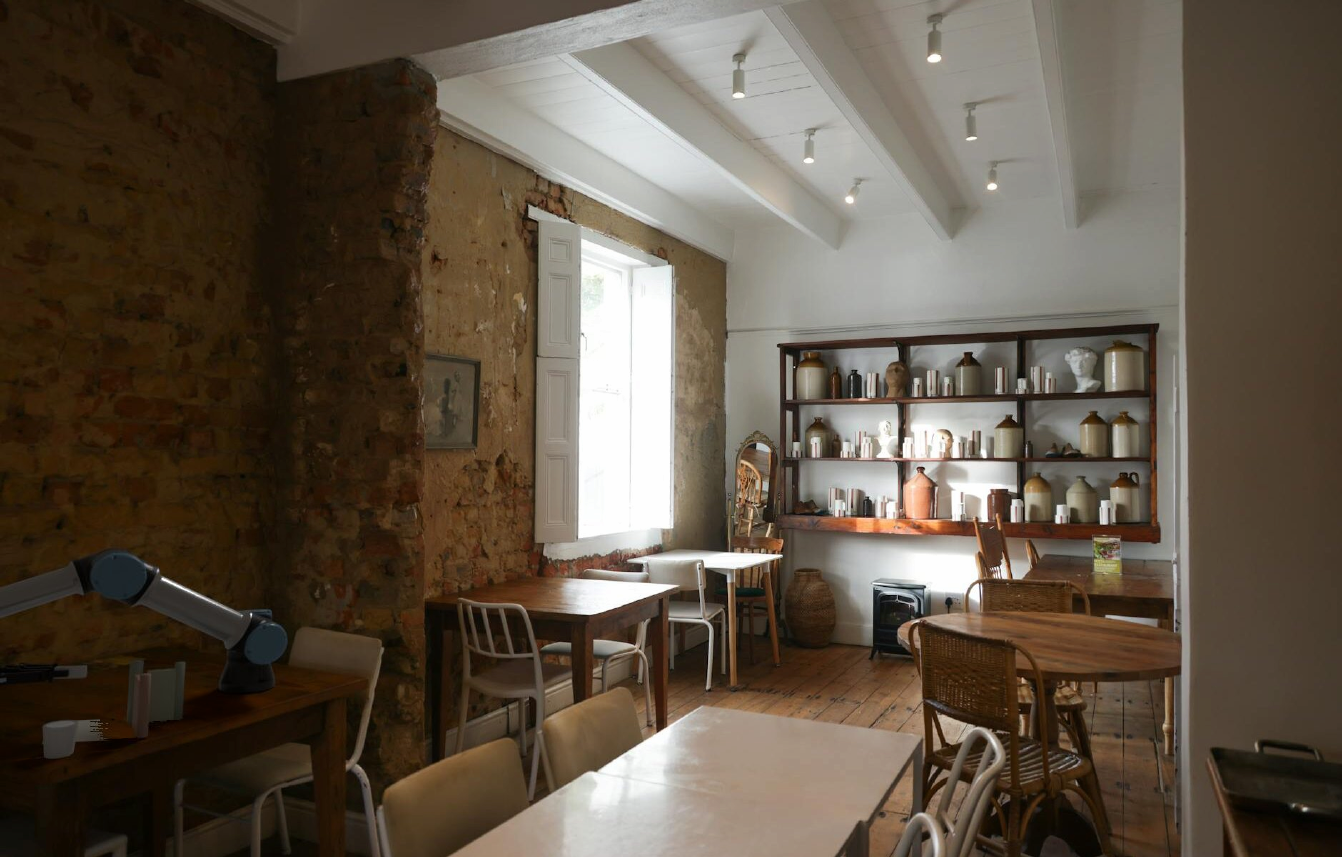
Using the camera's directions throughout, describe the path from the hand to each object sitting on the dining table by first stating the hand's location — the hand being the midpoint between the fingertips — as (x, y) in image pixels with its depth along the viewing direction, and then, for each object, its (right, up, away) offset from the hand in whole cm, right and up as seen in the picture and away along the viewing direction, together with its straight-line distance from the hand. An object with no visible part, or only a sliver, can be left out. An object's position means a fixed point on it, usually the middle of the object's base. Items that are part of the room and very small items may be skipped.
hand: (85, 671), depth 215 cm
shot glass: (+2, -16, -13) cm, 20 cm away
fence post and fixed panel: (+9, -17, +13) cm, 23 cm away
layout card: (+1, -16, +5) cm, 17 cm away
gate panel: (+11, -16, +4) cm, 19 cm away
